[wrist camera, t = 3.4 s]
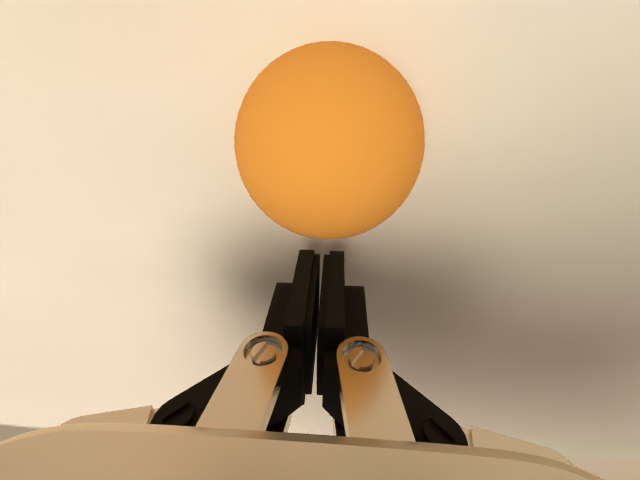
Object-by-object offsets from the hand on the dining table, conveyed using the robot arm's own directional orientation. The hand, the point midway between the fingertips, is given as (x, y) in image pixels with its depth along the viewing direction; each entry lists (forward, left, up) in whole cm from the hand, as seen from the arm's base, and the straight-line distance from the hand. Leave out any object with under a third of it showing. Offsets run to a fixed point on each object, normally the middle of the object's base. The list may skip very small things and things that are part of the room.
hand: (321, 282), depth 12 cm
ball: (0, -5, +1) cm, 5 cm away
